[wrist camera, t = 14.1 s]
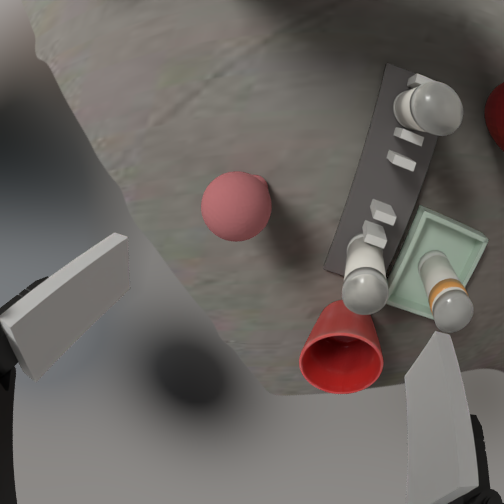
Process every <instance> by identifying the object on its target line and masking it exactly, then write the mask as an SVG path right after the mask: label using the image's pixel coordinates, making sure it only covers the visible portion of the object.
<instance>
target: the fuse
mask: <svg viewBox="0 0 504 504" xmlns="http://www.w3.org/2000/svg"><path fill="white" fill-rule="evenodd" d="M388 296H389V292H388V284H387V280H386V273H385V266H384V259H383V250H382V248H381V247H378V246H375V245H372V244H370V243H367V242H364V236H363V232H362V233H358V234H356V235H354V236H353V237H352V238H351V239H350V241H349V242H348V245H347V258H346V267H345V276H344V283H343V289H342V300H343V302H344V304H345V306H346V307H347V308H348V309H349V310H350V311H352V312H354V313H356V314H360V315H370V314H373V313H376V312H378V311H379V310H381V309H382V308H383V307H384V306H385V304H386V302H387V300H388Z"/></svg>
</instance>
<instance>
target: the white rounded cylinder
mask: <svg viewBox="0 0 504 504" xmlns="http://www.w3.org/2000/svg"><path fill="white" fill-rule="evenodd" d="M392 110H393V115H394V117H395V119H396V120H397V122H398V123H399V124H400V125H401V126H403V127H405V128H407V129H411V130H418V131H423V132H427V133H430V134H434V135H438V136H445V135H449V134H451V133H453V132H455V131H456V130H457V129H458V127H459V126H460V124H461V122H462V118H463V107H462V103H461V100H460V98H459V96H458V95H457V93H456V92H455V91H454V90H453V89H452V88H451V87H449V86H448V85H446V84H444V83H442V82H437V81H431V82H427V83H424V84H422V85H420V86H418V87H416V88H413V89H411V90H408V91H404V92H402V93H400V94H399V95H397V96H396V98H395V99H394V101H393V105H392Z"/></svg>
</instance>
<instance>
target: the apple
mask: <svg viewBox="0 0 504 504" xmlns="http://www.w3.org/2000/svg"><path fill="white" fill-rule="evenodd" d="M485 121H486V125H487V128H488V130H489V132H490V134H491V136H492V138H493V139H494V141H495V142H496V144H497V145H498V146H499V147H500V148H501V149H502V150H503V152H504V82H503V83H502V84H500V85H498V86H497V87H496V88H495V89H494V90H493V91H492V92H491V94H490V96H489V97H488V99H487V102H486V105H485Z"/></svg>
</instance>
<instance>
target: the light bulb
mask: <svg viewBox="0 0 504 504" xmlns="http://www.w3.org/2000/svg"><path fill="white" fill-rule="evenodd" d="M271 208H272V205H271V198H270V195H269V192H268V185H267V182H266V181H265V180H264V178H262V177H261V176H258V175H251V174H248V173H245V172H228V173H225V174H222V175H220V176H219V177H217V178H215V179H214V180H213V181H212V182H211V183H210V184H209V185H208V187H207V188H206V190H205V192H204V194H203V197H202V203H201V210H202V216H203V219H204V221H205V223H206V225H207V226H208V228H209V229H210V230H211V231H212V232H213V233H214V234H215V235H217V236H218V237H220V238H222V239H225V240H228V241H236V242H237V241H244V240H248V239H250V238H252V237H254V236H256V235H257V234H259V233H260V232H261V231H262V230H263V229H264V227H265V226H266V224H267V223H268V221H269V218H270V215H271Z"/></svg>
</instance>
